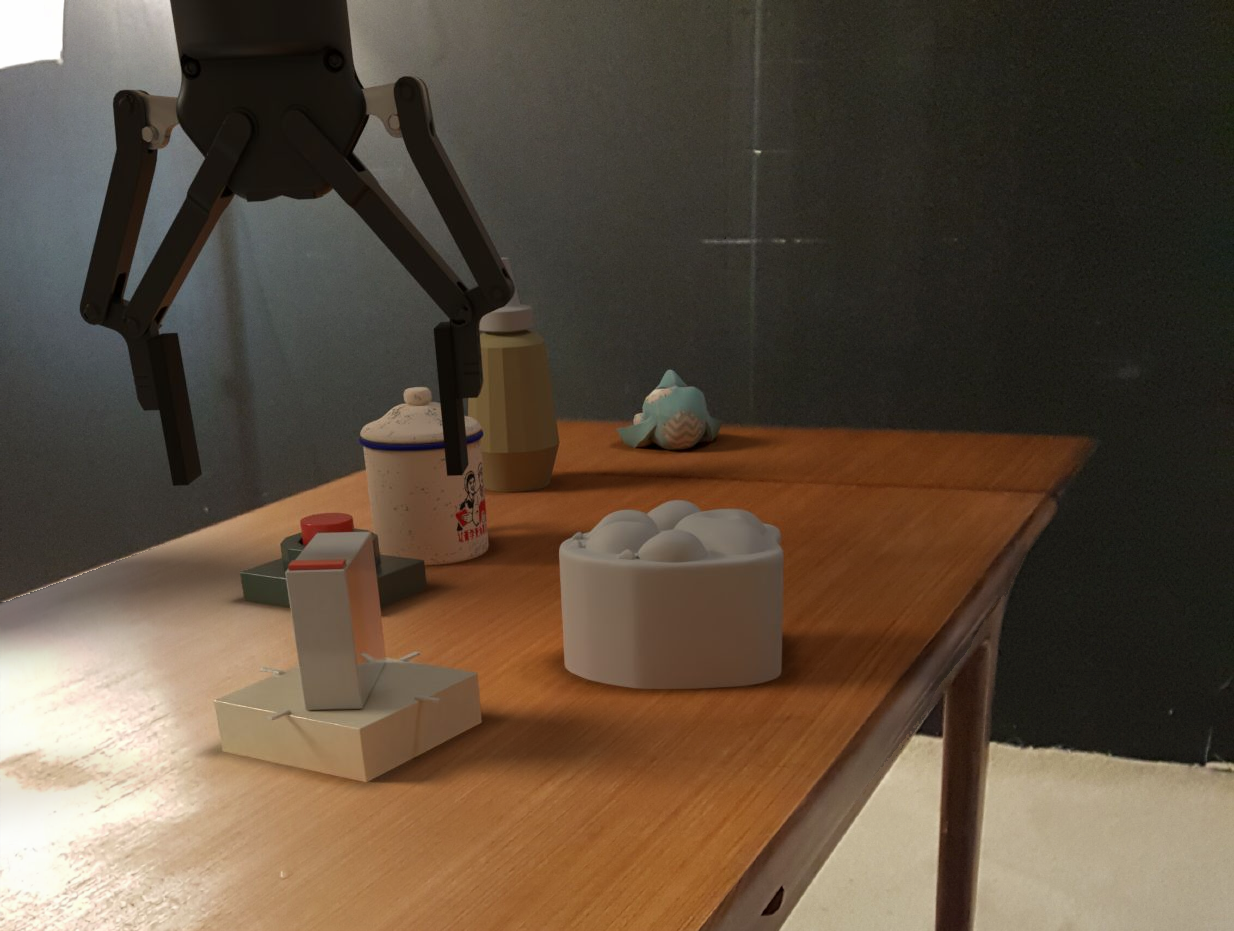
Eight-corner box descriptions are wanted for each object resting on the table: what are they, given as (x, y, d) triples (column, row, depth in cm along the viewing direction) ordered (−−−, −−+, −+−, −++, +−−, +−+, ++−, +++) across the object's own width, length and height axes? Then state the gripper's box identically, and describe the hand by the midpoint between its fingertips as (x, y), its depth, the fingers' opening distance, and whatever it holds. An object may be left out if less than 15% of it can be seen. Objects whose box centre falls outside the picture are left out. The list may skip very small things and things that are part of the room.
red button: (292, 548, 108) (288, 521, 107) (327, 536, 111) (323, 510, 110) (332, 553, 106) (329, 526, 105) (366, 541, 109) (363, 515, 108)
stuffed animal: (706, 370, 157) (738, 361, 146) (710, 448, 160) (741, 445, 149) (601, 378, 155) (624, 369, 144) (606, 456, 158) (630, 453, 147)
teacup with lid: (485, 567, 116) (472, 396, 110) (363, 570, 116) (343, 400, 110) (501, 529, 126) (489, 371, 120) (388, 532, 126) (371, 374, 120)
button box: (244, 603, 110) (234, 544, 108) (320, 576, 116) (312, 519, 113) (354, 621, 105) (347, 559, 103) (427, 591, 111) (422, 533, 109)
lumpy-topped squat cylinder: (783, 689, 90) (786, 533, 86) (557, 693, 91) (549, 539, 86) (777, 636, 99) (779, 492, 94) (571, 641, 100) (564, 498, 95)
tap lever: (333, 662, 88) (315, 527, 84) (386, 661, 87) (371, 526, 83) (304, 710, 81) (283, 566, 77) (362, 709, 81) (344, 564, 77)
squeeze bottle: (508, 501, 134) (492, 264, 125) (452, 488, 140) (432, 260, 130) (580, 486, 139) (570, 255, 129) (523, 474, 144) (509, 251, 134)
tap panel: (193, 757, 84) (182, 700, 83) (341, 691, 93) (334, 638, 91) (370, 797, 79) (362, 736, 77) (510, 722, 87) (506, 666, 86)
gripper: (-70, -43, 64) (51, 500, 76) (537, -76, 63) (567, 481, 74) (-3, -31, 71) (99, 469, 82) (550, -60, 69) (576, 451, 81)
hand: (322, 476), depth 78 cm, fingers open, 13 cm apart
